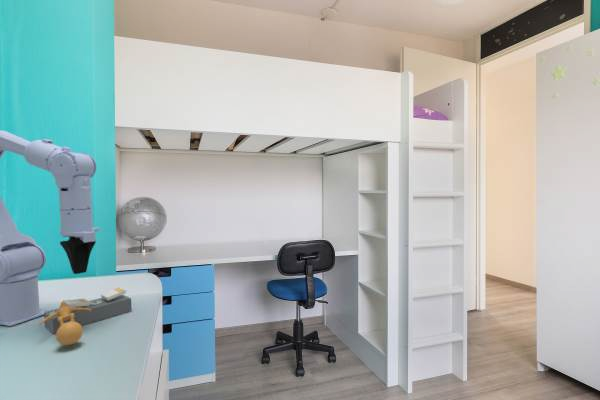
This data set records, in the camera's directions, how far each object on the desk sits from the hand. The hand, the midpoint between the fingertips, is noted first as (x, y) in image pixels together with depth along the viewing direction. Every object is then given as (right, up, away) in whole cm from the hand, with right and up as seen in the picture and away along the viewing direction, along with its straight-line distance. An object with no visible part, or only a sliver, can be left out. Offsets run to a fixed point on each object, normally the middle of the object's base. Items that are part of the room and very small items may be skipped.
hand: (79, 272), depth 72 cm
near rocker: (-1, -7, 0) cm, 7 cm away
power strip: (+1, -10, +2) cm, 11 cm away
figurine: (+7, -10, -12) cm, 18 cm away
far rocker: (+4, -6, +5) cm, 9 cm away
